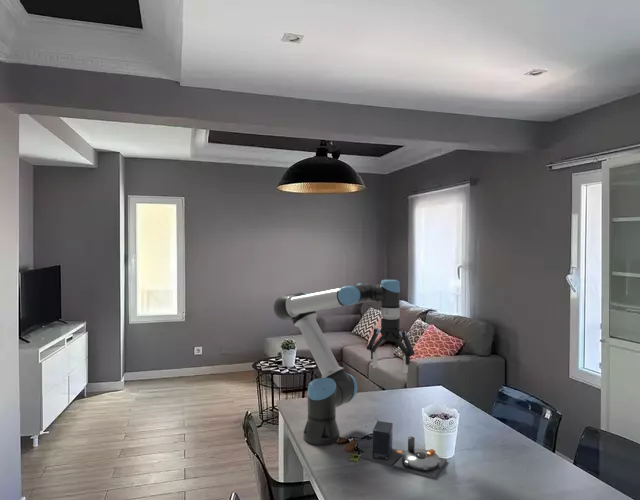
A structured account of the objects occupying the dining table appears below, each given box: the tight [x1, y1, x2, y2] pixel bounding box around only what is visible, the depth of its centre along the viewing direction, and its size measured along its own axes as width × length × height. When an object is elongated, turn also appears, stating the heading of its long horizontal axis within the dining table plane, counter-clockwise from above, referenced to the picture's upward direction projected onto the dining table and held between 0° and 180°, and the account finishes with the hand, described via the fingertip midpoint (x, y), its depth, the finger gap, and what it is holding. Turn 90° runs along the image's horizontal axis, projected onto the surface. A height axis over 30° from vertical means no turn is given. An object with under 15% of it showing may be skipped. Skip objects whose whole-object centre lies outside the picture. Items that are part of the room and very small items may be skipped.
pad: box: [359, 444, 406, 467], centre depth 175 cm, size 13×13×1 cm
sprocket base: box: [393, 456, 448, 480], centre depth 168 cm, size 15×15×1 cm
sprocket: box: [400, 436, 441, 470], centre depth 168 cm, size 14×13×7 cm
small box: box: [372, 420, 394, 460], centre depth 175 cm, size 11×6×10 cm, turn 164°
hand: (389, 370), depth 187 cm, fingers open, 13 cm apart
